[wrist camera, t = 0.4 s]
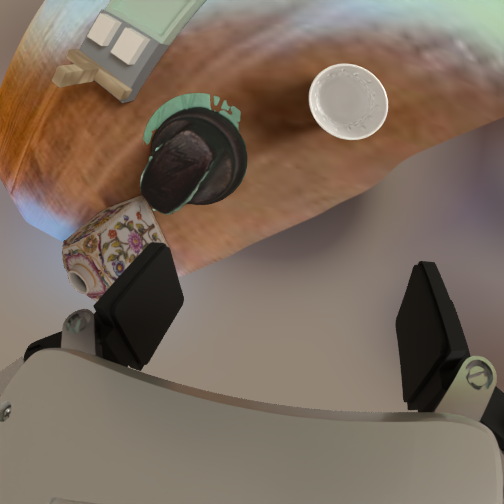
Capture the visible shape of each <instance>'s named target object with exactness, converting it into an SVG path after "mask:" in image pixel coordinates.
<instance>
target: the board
mask: <svg viewBox="0 0 504 504" xmlns="http://www.w3.org/2000/svg"><path fill="white" fill-rule="evenodd" d="M100 13H103V14H108V15H109V16H111V17H113V18H115V19H117V20H118V21H120V22H122V23H121V25H120V27H119V28H118V30H117V31H116V33H115V35H114V36H113V38H112V40H111V41H110V43H109V45H108V46H101V45H99V44H98V43H96V42H95V41H93V40H92V39H90V38H89V37H87V36H86V38H85V40H84V41H83V43H82V45H81V47H80V49H79V50H80V51H81V52H83V53H84V54H85V55H87V56H88V57H90V58H91V59H92V60H94V61H95V62H96V63H98V64H99V65H100V66H102V67H103V68H104V69H106V70H107V71H108V72H110V73H111V74H112V75H114V76H115V77H116V78H118V79H119V80H120V81H122V82H123V83H124V84H125V85H127V86H128V87H129V88H131V89H132V92H131V93H130V95H129V97H128V98H127V99H122V100H119V99H118V98H117V99H118V100H119V101H120V102H122V103H125V102H130V101H134V99H135V97H136V96H137V94H138V92H139V91H140V89H141V87H142V86H143V84H144V83H145V81H146V79H147V78H148V76H149V75H150V73H151V72H152V70H153V69H154V67H155V66H156V64H157V63H158V61H159V60H160V58H161V57H162V55H163V54H164V52H165V51H166V50H167V48H168V47H169V46H170V45H166V44H161V43H160V42H158V41H157V40H155V39H154V38H152V37H151V36H149V35H147V34H146V33H144V32H142V31H141V30H139V29H137V28H136V27H134V26H132V25H131V24H129V23H127V22H126V21H124V20H122V19H120V18H118V17H117V16H115V15H113V14H111V13H109V12H107V11H106V10H101V11H100ZM100 13H99V14H100ZM98 16H99V15H98ZM98 16H97V18H98ZM97 18H96V19H97ZM95 21H96V20H95ZM95 21H94V23H95ZM94 23H93V25H94ZM93 25H92V26H93ZM125 27H126V28H132V29H134V30H135V31H137V32H139V33H140V34H142V35H143V36H145V37H147V38H148V39H150V41H149V42H148V44H147V45H146V47H145V48H144V50H143V51H142V53H141V55H140V56H139V58H138V59H137V61H136V62H135V64H132V65H128V64H127V63H125V62H124V61H122V60H121V59H120V58H118V57H117V56H115V55H114V54H112V53H111V50H112V49H113V47H114V45H115V43H116V42H117V40H118V38H119V37H120V35H121V34H122V32H123V30H124V29H125ZM91 28H92V27H91ZM91 28H90V30H91ZM90 30H89V32H90ZM89 32H88V33H89ZM87 35H88V34H87ZM73 64H74V63H73ZM94 81H95V80H94ZM97 83H98V82H97ZM98 84H99V83H98ZM99 85H100V84H99ZM102 87H103V86H102ZM103 88H104V87H103ZM104 89H105V88H104ZM107 91H108V90H107ZM108 92H109V91H108ZM109 93H110V92H109ZM112 95H113V94H112ZM113 96H114V95H113ZM114 97H115V96H114ZM115 98H116V97H115Z"/></svg>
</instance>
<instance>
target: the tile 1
mask: <svg viewBox="0 0 504 504" xmlns="http://www.w3.org/2000/svg"><path fill="white" fill-rule="evenodd" d="M121 23H122V22H120V21H118V20H117V19H115V18H113V17H111V16H109V15H108V14H103V13H100V14H99V16H98V18H97V19H96V21H95V23H94V25H93V26H92V28H91V30H90V32H89V33H88V35H87V37H89V38H90V39H92V40H93V41H95V42H96V43H98V44H99V45H101V46H108V45H109V43H110V41H111V40H112V38H113V36H114V35H115V33H116V31H117V30H118V28H119V27H120V25H121Z"/></svg>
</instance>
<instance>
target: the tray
mask: <svg viewBox="0 0 504 504" xmlns="http://www.w3.org/2000/svg"><path fill="white" fill-rule="evenodd" d="M205 1H206V0H111V1H110V3H109V4H108V6H107V7H106V9H105V10H106V11H107V12H109V13H111V14H113V15H115V16H117V17H118V18H120V19H122V20H124V21H126V22H127V23H129V24H131V25H132V26H134V27H136V28H137V29H139V30H141V31H142V32H144V33H146V34H147V35H149V36H151V37H152V38H154V39H155V40H157V41H158V42H160V43H161V44H166V45H170V44H171V43H172V41H173V40H174V39H175V38H176V36H177V35H178V34H179V32H180V31H181V30H182V28H183V27H184V26H185V25H186V24H187V22H188V21H189V20H190V19H191V17H192V16H193V15H194V14H195V13H196V12H197V10H198V9H199V8H200V7H201V6H202V5H203V4H204V2H205Z"/></svg>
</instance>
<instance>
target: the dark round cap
mask: <svg viewBox="0 0 504 504" xmlns="http://www.w3.org/2000/svg"><path fill="white" fill-rule="evenodd" d="M218 102H219V97H217V96H214V104H215V105H217V104H218ZM229 108H230V106H228V105H227V102H226V100H225V101H224V102H223V104H222V107H221V109H224V110H225V109H226V110H227V111H228V110H229ZM230 109H231V111H232V115H229V114H228V113H227V112H225V111H224V110H223V111H220V112H216V111H215V110H214V111H212V110H211V107H210V94H203V93H191V94H185V95H181V96H178V97H175V98H173V99H171V100H169V101H168V102H166V103H165V104H164V105H162V106H161V107H160V108H159V109H158V110H157V111H156V112H155V113H154V114H153V116H152V117H151V119H150V120H149V122H148V124H147V126H146V129H145V132H144V137H143V140H144V141H145V142H146V144H147V145H148V143H150V140H151V137H152V131H153V130H155V128H157V131H156V133H155V135H154V137H153V140H152V146H151V156H150V157H149V162H148V163H147V165H146V167H145V169H144V171H143V173H142V175H141V179H140V191H141V194H142V195H143V197H144V198H145V199H146V201H147V202H148V203H149V205H151V206H152V207H153V208H154V209H152V210H153V211H159V213H164V214H165V215H169V214H173V213H174V212H176V211H179V210H180V209H181V208H182V207H183V206H184V205H185V204H195V205H207V204H212V203H215V202H218V201H221V200H223V199H224V198H226V197H227V196H229V195H230V194H231V193H233V192H234V191H235V190H236V188H237V187H238V186H239V185H240V184H241V182H242V180H243V178H244V176H245V173H246V168H247V152H246V145H245V142H244V140H243V138H242V137H241V135H240V133H239V130H238V126H239V124H238V123H237V121H238V122H240V114H241V112H240V111H239V110H238V109H237V108H236V107H235V106H232V107H231V108H230ZM152 207H151V208H152Z"/></svg>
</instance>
